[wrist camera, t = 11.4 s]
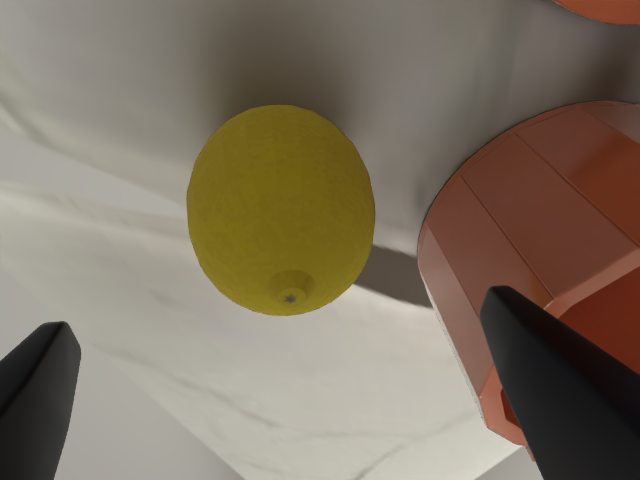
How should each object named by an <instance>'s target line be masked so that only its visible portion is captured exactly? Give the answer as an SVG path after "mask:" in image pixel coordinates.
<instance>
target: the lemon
mask: <svg viewBox="0 0 640 480" xmlns="http://www.w3.org/2000/svg"><path fill="white" fill-rule="evenodd" d="M187 214H188V215H187V216H188V228H189V234H190V239H191V242H192V245H193V248H194V250H195V253H196V256H197V258H198V261H199V263H200V266H201V268H202V269H203V271H204V273H205V274H206V275H207V277H208V278H209V279H210V281H211V282H212V283H213V284H214V286H215V287H216V288H217V289H218V290H219V291H220V292H221V293H222V294H224V295H225V296H227V297H228V298H229V299H231V300H232V301H233V302H235V303H237V304H239V305H241V306H243V307H245V308H247V309H250V310H252V311H255V312H259V313H263V314H268V315H279V316H289V315H297V314H303V313H306V312H310V311H313V310H316V309H319V308H321V307H322V306H324V305H326V304H328V303H330V302H332V301H333V300H335V299H336V298H337V297H338V296H340V295H341V294H342V293H343V292H345V291H346V290H347V289H348V288H349V287H350V286H351V285H352V283H353V282H354V281H355V279H356V278H357V277H358V276H359V274H360V273H361V271H362V269H363V267H364V265H365V263H366V261H367V258H368V256H369V254H370V251H371V247H372V242H373V234H374V225H375V203H374V198H373V192H372V187H371V181H370V177H369V174H368V171H367V169H366V167H365V165H364V163H363V161H362V159H361V157H360V155H359V153H358V151H357V149H356V147H355V146H354V145H353V143H352V142H351V141H350V140H349V139H348V138H347V137H346V136H345V135H344V134H343V133H342V132H341V131H340V130H339V129H338V128H337V127H336V125H335V124H333V123H332V122H330V121H329V120H327V119H325V118H323V117H322V116H320V115H318V114H317V113H315V112H313V111H311V110H307V109H304V108H300V107H297V106H293V105H266V106H261V107H257V108H252V109H248V110H246V111H244V112H242V113H240V114H238V115H236V116H234V117H232V118H230V119H229V120H228V121H227V122H226V123H225V124H223V125H222V126H221V127H220V128H219V129H218V130H217V131H216V132H215V133H214V134H212V135H211V137H210V138H209V140H208V141H207V143H206V144H205V146H204V148H203V149H202V151H201V152H200V154H199V156H198V157H197V159H196V161H195V164H194V167H193V171H192V175H191V179H190V182H189V186H188V190H187Z"/></svg>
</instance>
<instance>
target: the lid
mask: <svg viewBox="0 0 640 480" xmlns="http://www.w3.org/2000/svg"><path fill="white" fill-rule="evenodd" d="M552 1H553V2H554V3H556V4H557V5H559V6H561V7H563V8H565V9H567V10H569V11H571V12H573V13H576V14H578V15H580V16H583V17H586V18H589V19H593V20H597V21H601V22H605V23H610V24H624V25H640V0H552Z"/></svg>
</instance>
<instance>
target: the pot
mask: <svg viewBox="0 0 640 480" xmlns="http://www.w3.org/2000/svg"><path fill="white" fill-rule="evenodd" d="M417 255H418V266H419V271H420V275H421V277H422V280H423V282H424V285H425V288H426V291H427V294H428V297H429V299H430V301H431V304H432V306H433V308H434V310H435V313H436V315H437V317H438V319H439V322H440V324H441V326H442V328H443V331H444V333H445V335H446V337H447V340H448V342H449V344H450V346H451V349H452V351H453V353H454V355H455V358H456V360H457V362H458V364H459V367H460V369H461V371H462V373H463V376H464V378H465V380H466V382H467V385H468V387H469V389H470V391H471V394H472V396H473V398H474V400H475V403H476V405H477V407H478V409H479V412H480V414H481V416H482V418H483V421H484V423H485V425H486V426H487V428H488V429H490V430H491V431H493V432H495V433H497V434H498V435H500V436H502V437H504V438H505V439H507V440H509V441H510V442H512V443H514V444H516V445H524V446H525V447H526V449H527V451H528V453H529V455H530V457H531V459H532V461H535V459H534V457H533V454H532V452H531V450H530V448H529V446H528V443H527V441H526V439H525V437H524V434H523V432H522V430H521V428H520V425H519V423H518V421H517V419H516V417H515V414H514V412H513V410H512V408H511V405H510V403H509V401H508V399H507V396H506V394H505V392H504V390H503V387H502V385H501V382H500V380H499V377H498V374H497V371H496V368H495V365H494V362H493V359H492V356H491V353H490V350H489V347H488V344H487V340H486V337H485V334H484V331H483V328H482V325H481V322H480V316H479V314H480V309H481V306H482V303H483V301H484V298H485V295H486V292H487V290H488V289H489V288H490V287H492V286H501V285H507V286H510V287H512V288H513V289H515V290H516V291H518V292H519V293H521V294H522V295H523V296H525V297H526V298H528V299H529V300H531V301H532V302H534V303H535V304H537V305H538V306H540V307H541V308H543V309H544V310H545V311H547V312H548V313H550V314H551V315H553V316H554V317H556V318H557V319H559V320H560V321H562V322H563V323H565V324H566V325H567V326H569V327H570V328H572V329H573V330H575V331H576V332H578V333H579V334H581V335H582V336H584V337H585V338H587V339H588V340H589V341H591V342H592V343H594V344H595V345H597V346H598V347H600V348H601V349H603V350H604V351H606V352H607V353H609V354H610V355H611V356H613V357H614V358H616V359H617V360H619V361H620V362H622V363H623V364H625V365H626V366H628V367H629V368H631V369H632V370H633V371H635V372H636V373H638V374H639V375H640V105H637V104H632V103H627V102H622V101H592V102H581V103H577V104H572V105H568V106H563V107H560V108H557V109H554V110H551V111H548V112H545V113H542V114H539V115H537V116H535V117H533V118H530V119H528V120H526V121H524V122H522V123H520V124H518V125H516V126H514V127H513V128H511V129H509V130H507V131H506V132H504V133H502V134H501V135H499V136H498V137H496V138H495V139H493V140H492V141H491V142H489V143H488V144H486V145H485V146H484V147H482V148H481V149H480V150H479V151H477V152H476V153H475V154H474V155H473V156H472V157H471V158H469V159H468V160H467V161H466V162H465V163H464V164H463V165H462V166H461V167H460V168H459V169H458V170H457V171H456V172H455V173H454V174H453V176H452V177H451V178H450V179H449V180H448V182H447V183H446V184H445V186H444V187H443V188H442V190H441V191H440V192H439V194H438V195H437V197H436V199H435V200H434V202H433V204H432V205H431V207H430V209H429V211H428V213H427V216H426V218H425V220H424V223H423V226H422V229H421V233H420V236H419V242H418V250H417Z"/></svg>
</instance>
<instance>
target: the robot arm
mask: <svg viewBox="0 0 640 480" xmlns="http://www.w3.org/2000/svg"><path fill="white" fill-rule="evenodd" d="M479 316H480V322H481V325H482V328H483V331H484V334H485V337H486V340H487V344H488V347H489V350H490V353H491V356H492V359H493V362H494V365H495V368H496V371H497V374H498V377H499V380H500V382H501V385H502V387H503V390H504V392H505V394H506V396H507V399H508V401H509V403H510V405H511V408H512V410H513V412H514V414H515V417H516V419H517V421H518V423H519V425H520V428H521V430H522V432H523V434H524V437H525V439H526V441H527V443H528V446H529V448H530V450H531V452H532V454H533V457H534V459H535V461H536V463H537V466H538V468H539V470H540V472H541V475H542V477H543V479H544V480H640V375H639V374H638V373H636V372H635V371H633V370H632V369H631V368H629V367H628V366H626V365H625V364H623V363H622V362H620V361H619V360H617V359H616V358H614V357H613V356H611V355H610V354H609V353H607V352H606V351H604V350H603V349H601V348H600V347H598V346H597V345H595V344H594V343H592V342H591V341H589V340H588V339H587V338H585V337H584V336H582V335H581V334H579V333H578V332H576V331H575V330H573V329H572V328H570V327H569V326H567V325H566V324H565V323H563V322H562V321H560V320H559V319H557V318H556V317H554V316H553V315H551V314H550V313H548V312H547V311H545V310H544V309H543V308H541V307H540V306H538V305H537V304H535V303H534V302H532V301H531V300H529V299H528V298H526V297H525V296H523V295H522V294H521V293H519V292H518V291H516V290H515V289H513V288H512V287H510V286H507V285H501V286H492V287H490V288H489V289H488V290H487V292H486V295H485V298H484V301H483V303H482V306H481V309H480V314H479ZM80 360H81V348H80V345H79V343H78V341H77V340H76V337H75V335H74V334H73V332H72V330H71V328H70V326H69V324H68V323H66V322H64V321H59V322H48V323H44V324H42V325H40V326H39V327H38V328H37V329H36V330H35V331H33V333H31V334H30V335H29V336H28V337H27V338H26V339H25V340H23V341H22V342H21V343H20V344H19V345H18V346H17V347H16V348H14V349H13V350H12V351H11V352H10V353H9V354H8V355H7V356H5V357H4V358H3V359H2V360H1V361H0V480H54V476H55V473H56V470H57V466H58V463H59V459H60V456H61V453H62V449H63V446H64V443H65V439H66V435H67V431H68V427H69V422H70V418H71V412H72V406H73V401H74V395H75V389H76V383H77V377H78V372H79V366H80Z"/></svg>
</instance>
